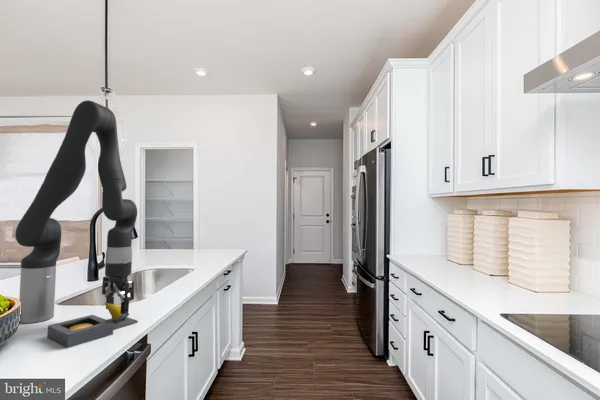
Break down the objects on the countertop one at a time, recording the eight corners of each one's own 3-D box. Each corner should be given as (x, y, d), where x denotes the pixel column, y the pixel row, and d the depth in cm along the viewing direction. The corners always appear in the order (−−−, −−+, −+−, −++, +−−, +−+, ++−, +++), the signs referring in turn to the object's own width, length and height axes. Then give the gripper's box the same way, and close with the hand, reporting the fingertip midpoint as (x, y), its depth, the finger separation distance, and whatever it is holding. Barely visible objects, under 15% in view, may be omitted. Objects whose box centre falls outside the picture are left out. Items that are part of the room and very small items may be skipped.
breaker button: (65, 336, 96) (65, 327, 96) (86, 330, 100) (86, 322, 100) (74, 340, 93) (75, 331, 93) (95, 334, 97) (96, 326, 97)
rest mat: (94, 324, 106) (94, 322, 106) (122, 317, 113) (122, 315, 113) (109, 330, 101) (110, 328, 101) (137, 322, 109) (137, 320, 109)
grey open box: (47, 337, 94) (47, 325, 95) (91, 325, 105) (92, 314, 105) (67, 348, 88) (67, 334, 88) (112, 334, 98) (113, 322, 98)
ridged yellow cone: (131, 323, 108) (108, 306, 102) (118, 328, 108) (94, 312, 103) (136, 309, 112) (114, 292, 106) (123, 314, 113) (100, 298, 107)
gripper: (95, 259, 108) (93, 310, 108) (119, 264, 101) (117, 318, 100) (118, 257, 115) (116, 304, 114) (142, 261, 107) (140, 312, 107)
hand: (116, 311), depth 107 cm, fingers open, 8 cm apart
